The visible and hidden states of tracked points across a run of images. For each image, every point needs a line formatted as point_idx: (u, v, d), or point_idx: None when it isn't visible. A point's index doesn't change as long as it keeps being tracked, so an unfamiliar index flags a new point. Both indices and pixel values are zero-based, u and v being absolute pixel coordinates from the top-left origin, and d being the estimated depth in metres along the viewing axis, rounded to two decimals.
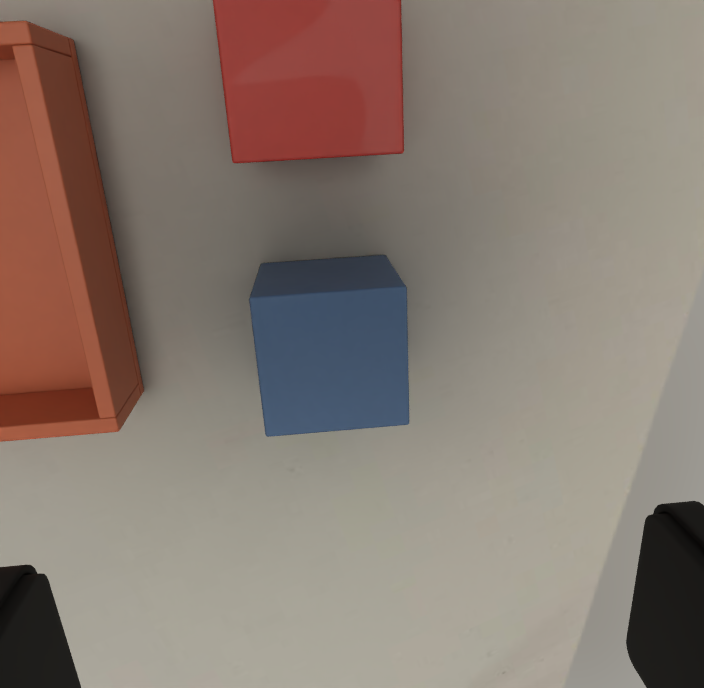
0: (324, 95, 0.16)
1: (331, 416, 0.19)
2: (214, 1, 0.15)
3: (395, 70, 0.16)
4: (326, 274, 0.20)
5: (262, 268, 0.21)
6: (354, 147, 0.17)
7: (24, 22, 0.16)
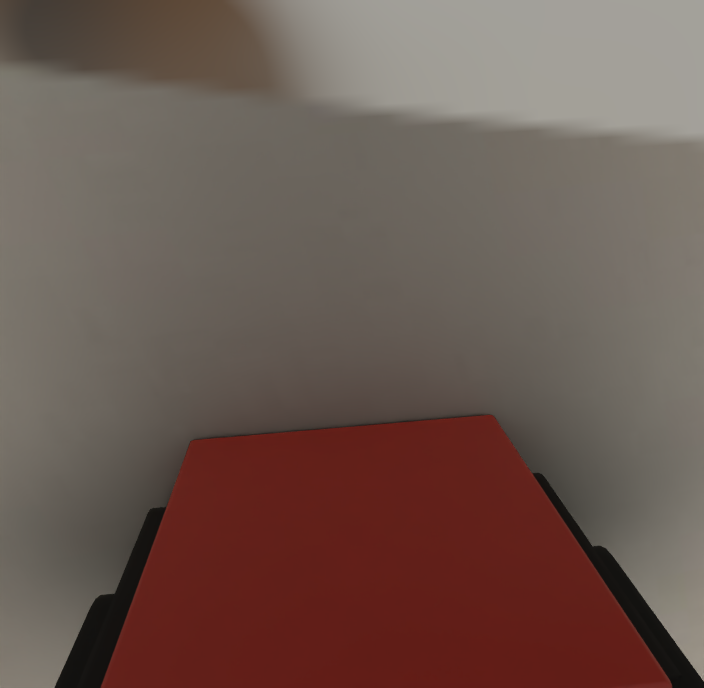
0: None
1: None
2: None
3: None
4: None
5: None
6: None
7: None
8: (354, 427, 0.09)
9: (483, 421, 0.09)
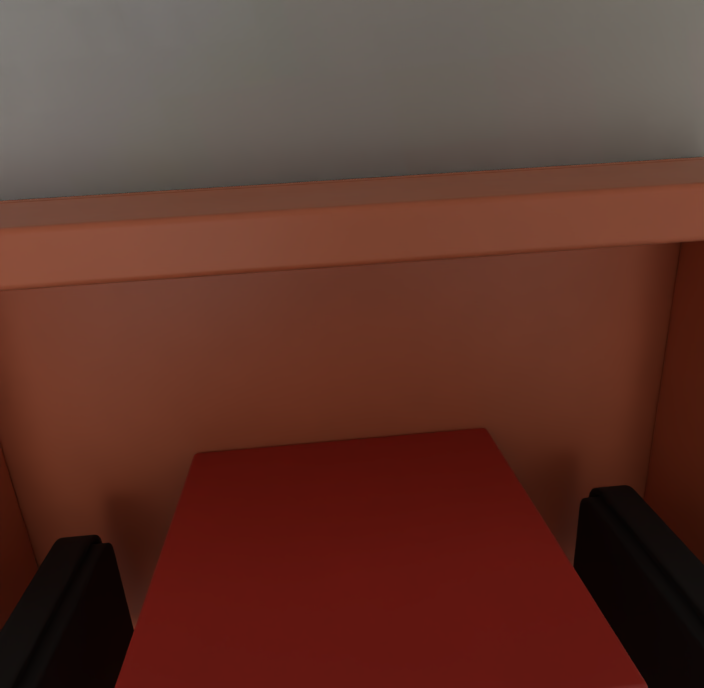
0: None
1: None
2: None
3: None
4: None
5: None
6: None
7: None
8: (352, 440, 0.10)
9: (476, 434, 0.10)
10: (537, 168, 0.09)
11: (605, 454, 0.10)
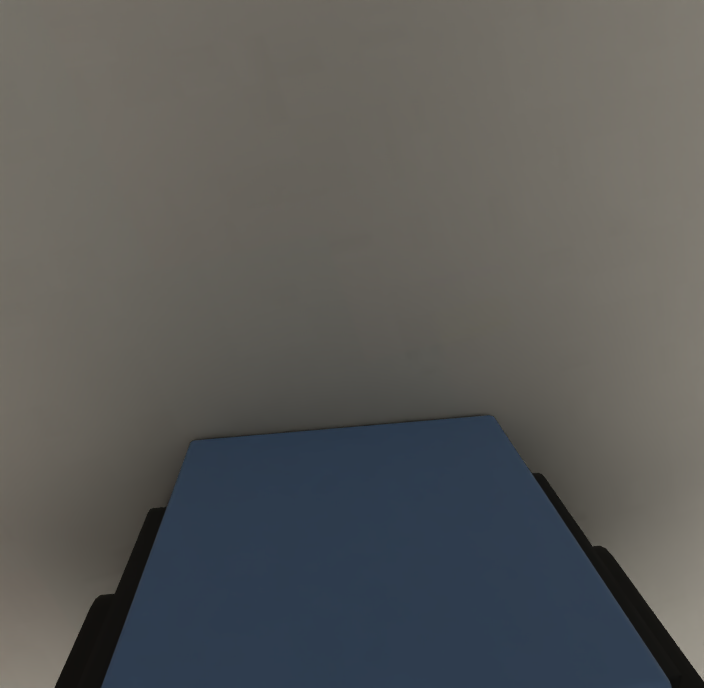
0: None
1: None
2: None
3: None
4: (360, 533, 0.07)
5: (187, 473, 0.08)
6: None
7: None
8: None
9: None
10: None
11: None
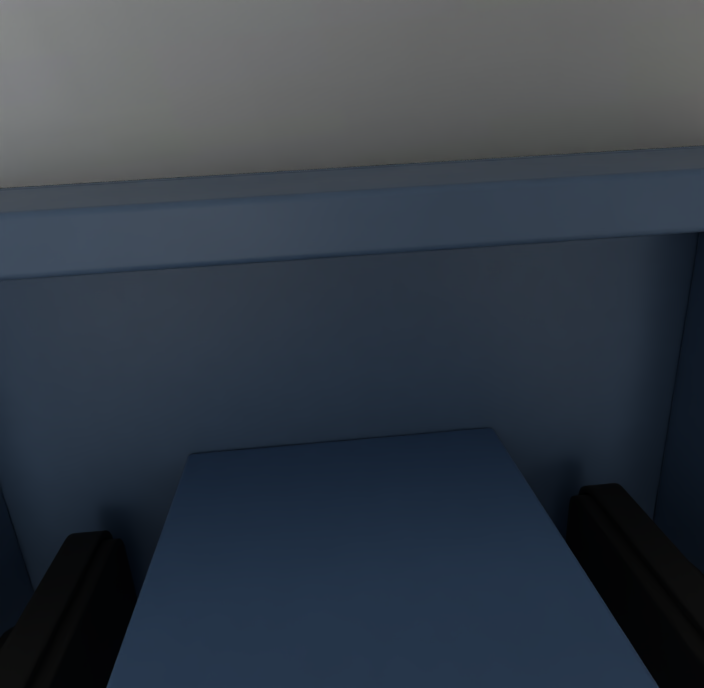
0: None
1: None
2: None
3: None
4: (359, 551, 0.07)
5: (185, 488, 0.08)
6: None
7: None
8: None
9: None
10: None
11: None
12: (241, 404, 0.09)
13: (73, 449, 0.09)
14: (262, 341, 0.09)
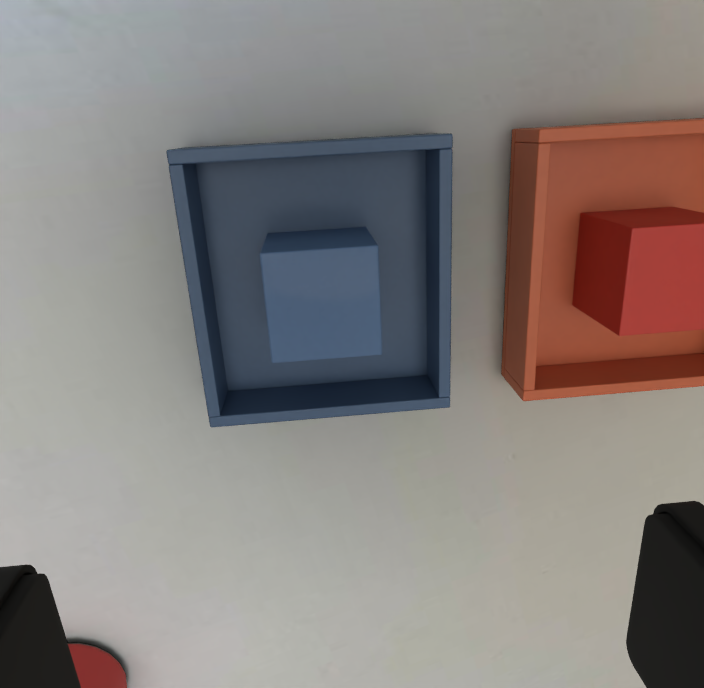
0: (682, 297, 0.26)
1: (322, 347, 0.25)
2: (630, 248, 0.25)
3: None
4: (318, 239, 0.26)
5: (268, 236, 0.27)
6: (693, 325, 0.26)
7: None
8: (631, 209, 0.29)
9: (672, 207, 0.29)
10: (698, 118, 0.28)
11: None
12: (284, 216, 0.28)
13: (230, 230, 0.28)
14: (291, 194, 0.28)
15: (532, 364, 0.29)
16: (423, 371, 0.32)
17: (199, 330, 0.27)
